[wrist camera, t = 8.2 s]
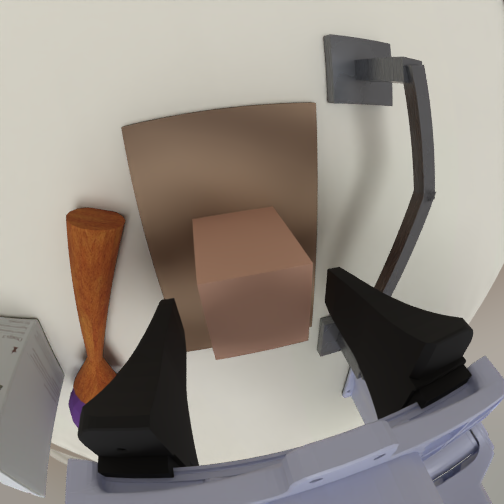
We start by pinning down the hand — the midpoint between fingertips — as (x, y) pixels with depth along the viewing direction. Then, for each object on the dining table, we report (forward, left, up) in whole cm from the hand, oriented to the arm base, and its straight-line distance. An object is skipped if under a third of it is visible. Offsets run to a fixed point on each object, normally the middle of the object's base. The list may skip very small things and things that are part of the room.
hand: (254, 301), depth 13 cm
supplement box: (-6, +20, -6) cm, 22 cm away
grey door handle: (0, -8, -5) cm, 10 cm away
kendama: (-5, +11, -6) cm, 14 cm away
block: (0, 0, -5) cm, 5 cm away
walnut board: (0, 0, -5) cm, 5 cm away
